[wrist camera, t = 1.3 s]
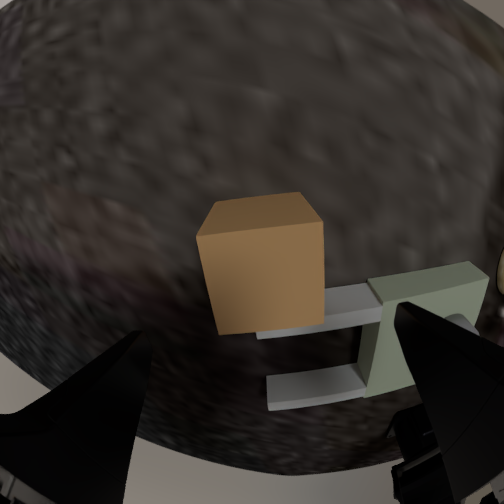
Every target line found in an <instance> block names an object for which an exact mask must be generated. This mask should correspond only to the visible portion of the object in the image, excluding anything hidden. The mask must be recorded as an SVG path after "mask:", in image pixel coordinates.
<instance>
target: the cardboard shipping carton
mask: <svg viewBox="0 0 504 504" xmlns="http://www.w3.org/2000/svg"><path fill="white" fill-rule="evenodd" d="M196 239H197V244H198V249H199V253H200V258H201V262H202V267H203V271H204V276H205V280H206V285H207V289H208V293H209V297H210V301H211V306H212V310H213V314H214V318H215V322H216V326H217V329H218V333H219V335H226V334H239V333H250V332H261V331H271V330H280V329H288V328H296V327H304V326H312V325H319V324H324V237H323V221H322V220H321V218H320V217H319V216H318V215H317V213H316V212H315V211H314V209H313V208H312V207H311V206H310V204H309V203H308V202H307V201H306V199H305V198H304V197H303V196H302V194H301V193H300V192H293V193H284V194H274V195H266V196H257V197H249V198H241V199H233V200H226V201H219V202H215V204H214V205H213V207H212V209H211V211H210V212H209V214H208V216H207V218H206V219H205V221H204V223H203V225H202V226H201V228H200V230H199V232H198V234H197V235H196Z"/></svg>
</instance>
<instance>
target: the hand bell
mask: <svg viewBox="0 0 504 504" xmlns="http://www.w3.org/2000/svg"><path fill="white" fill-rule="evenodd" d="M497 285H498V288H499V291H500V292H501V293H502V294H504V249H503V252H502V254H501V258H500V261H499V265H498V271H497Z"/></svg>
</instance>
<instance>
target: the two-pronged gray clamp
mask: <svg viewBox="0 0 504 504" xmlns="http://www.w3.org/2000/svg"><path fill="white" fill-rule="evenodd" d="M488 281H489V277H488V276H487V275H486V274H484V273H483V272H482V271H481V270H479V269H478V268H477V267H476V266H474V265H473V264H472V263H470V262H469V261H466V262H461V263H456V264H451V265H446V266H441V267H436V268H430V269H425V270H419V271H413V272H408V273H402V274H396V275H390V276H383V277H377V278H371V279H367V283H362V284H355V285H349V286H342V287H335V288H327V289H324V324H319V325H312V326H304V327H296V328H288V329H280V330H271V331H261V332H256V335H257V339H265V338H275V337H284V336H292V335H300V334H308V333H315V332H322V331H328V330H335V329H341V328H347V327H353V326H358V325H363V327H362V335H361V342H360V348H359V355H358V361H357V363H353V364H347V365H342V366H336V367H331V368H324V369H318V370H311V371H304V372H297V373H288V374H279V375H269V376H266V378H267V402H268V409H269V411H272V410H283V409H292V408H300V407H307V406H314V405H320V404H327V403H332V402H338V401H343V400H348V399H353V398H357V397H362V396H363V397H364V398H366V397H370V396H374V395H378V394H382V393H386V392H389V391H393V390H397V389H400V388H403V387H407V386H410V385H413V384H415V382H414V380H413V377H412V375H411V373H410V371H409V368H408V366H407V364H406V361H405V358H404V355H403V352H402V349H401V346H400V343H399V340H398V337H397V334H396V331H395V328H394V317H395V312H396V307H397V304H398V303H400V302H405V301H409V302H411V303H413V304H415V305H417V306H420V307H422V308H424V309H426V310H428V311H430V312H432V313H434V314H436V315H438V316H440V317H442V318H444V319H446V320H449V321H451V322H453V323H455V324H457V325H459V326H461V327H463V328H465V329H467V330H469V331H471V332H473V333H475V334H477V335H479V333H478V331H477V330H476V329H475V328H474V325H475V323H476V320H477V317H478V314H479V311H480V308H481V305H482V302H483V299H484V295H485V292H486V288H487V285H488Z"/></svg>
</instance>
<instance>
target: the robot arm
mask: <svg viewBox="0 0 504 504" xmlns="http://www.w3.org/2000/svg"><path fill="white" fill-rule="evenodd" d="M394 328H395V331H396V334H397V337H398V340H399V343H400V346H401V349H402V352H403V355H404V358H405V361H406V364H407V366H408V368H409V371H410V373H411V375H412V377H413V380H414V382H415V384H416V387H417V389H418V392H419V394H420V397H421V399H422V402H423V404H422V405H419V406H416V407H413V408H410V409H407V410H404V411H401V412H399V413H397V414H396V416H395V418H394V420H393V422H392V424H391V426H390V428H389V430H388V432H387V434H386V438H390V437H393V436H396V438H397V441H398V444H399V447H400V450H401V453H402V456H403V459H404V462H402V463H400V464H398V465H394V466H392V470H391V474H392V478H393V488H394V499H396V500H398V501H399V502H400V504H464V503H465V500H466V498H467V497H468V496H470V495H472V494H473V493H474V492H477V491H478V490H480V489H481V488H483V487H484V486H486V485H487V484H489V483H490V484H491V487H492V489H493V491H492V492H491V493H489V494H488V495H486V496H485V497H483V498H482V499H481V502H480V504H504V347H501V346H499V345H497V344H495V343H493V342H491V341H489V340H487V339H485V338H483V337H480V336H479V335H477V334H475V333H473V332H471V331H469V330H467V329H465V328H463V327H461V326H459V325H457V324H455V323H453V322H451V321H449V320H446V319H444V318H442V317H440V316H438V315H436V314H434V313H432V312H430V311H428V310H426V309H424V308H422V307H420V306H417V305H415V304H413V303H411V302H409V301H405V302H400V303H398V304H397V307H396V312H395V317H394ZM151 359H152V347H151V345H150V342H149V340H148V338H147V335H146V333H145V332H144V331H142V330H135V331H132V332H131V333H129V334H128V335H127V336H125V337H124V338H123V339H121V340H120V341H118V342H117V343H116V344H114V345H113V346H112V347H110V348H109V349H108V350H106V351H105V352H103V353H102V354H101V355H99V356H98V357H97V358H95V359H94V360H93V361H91V362H90V363H88V364H87V365H86V366H84V367H83V368H82V369H80V370H79V371H78V372H76V373H75V374H73V375H72V376H71V377H69V378H68V380H65V381H64V382H63V383H61V384H60V385H59V386H57V387H56V388H54V389H53V390H51V391H50V392H48V393H47V394H45V395H44V396H42V397H41V398H39V399H37V400H36V401H34V402H33V403H31V404H29V405H28V406H26V407H25V408H23V409H21V410H20V411H18V412H15V413H12V414H0V504H123V499H124V493H125V486H126V485H125V484H126V480H127V474H128V469H129V464H130V459H131V454H132V450H133V445H134V440H135V436H136V431H137V427H138V423H139V418H140V414H141V410H142V406H143V402H144V398H145V394H146V390H147V385H148V379H149V372H150V365H151Z"/></svg>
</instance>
